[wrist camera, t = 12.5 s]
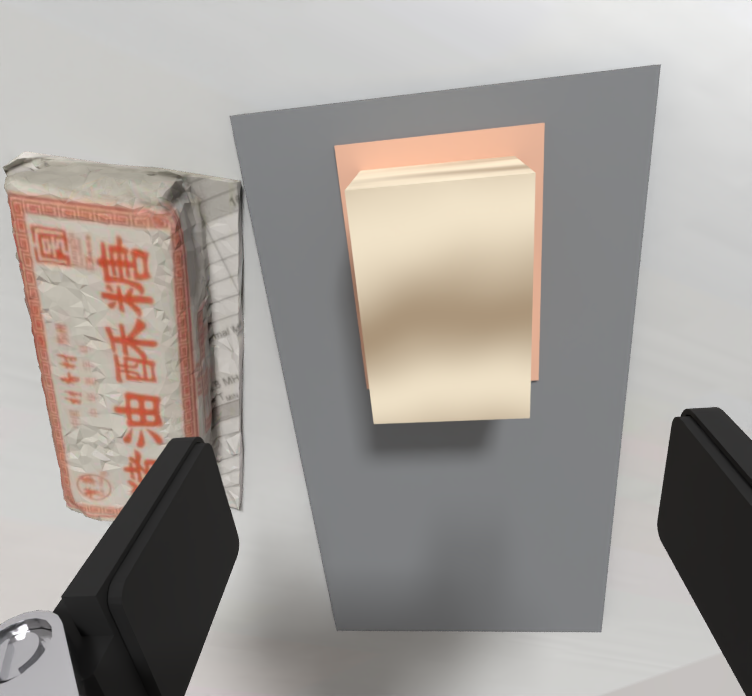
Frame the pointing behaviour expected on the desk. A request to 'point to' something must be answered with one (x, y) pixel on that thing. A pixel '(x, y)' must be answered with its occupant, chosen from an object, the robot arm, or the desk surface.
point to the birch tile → (445, 288)
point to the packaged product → (131, 317)
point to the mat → (473, 437)
